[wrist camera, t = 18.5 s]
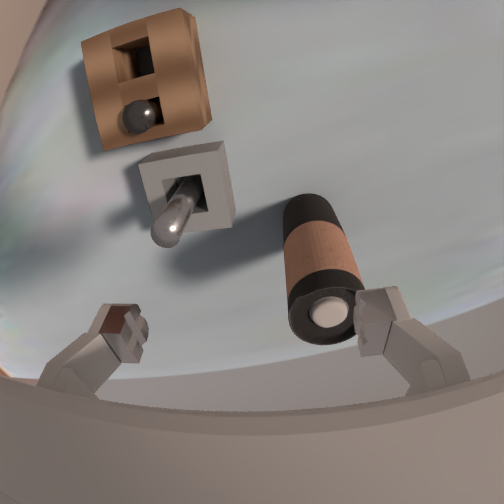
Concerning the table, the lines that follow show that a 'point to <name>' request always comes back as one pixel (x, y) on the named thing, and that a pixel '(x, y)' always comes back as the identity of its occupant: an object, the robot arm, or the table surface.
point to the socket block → (147, 77)
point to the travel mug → (318, 272)
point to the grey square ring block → (184, 164)
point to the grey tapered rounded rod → (177, 212)
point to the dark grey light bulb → (141, 115)
